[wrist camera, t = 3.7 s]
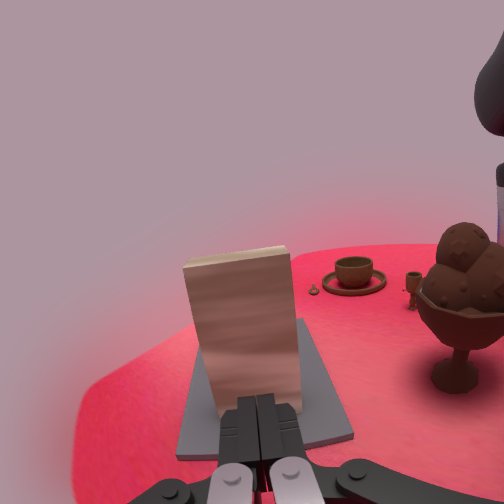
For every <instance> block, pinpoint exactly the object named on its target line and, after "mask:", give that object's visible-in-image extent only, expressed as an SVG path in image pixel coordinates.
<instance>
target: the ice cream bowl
mask: <svg viewBox="0 0 504 504" xmlns="http://www.w3.org/2000/svg"><path fill="white" fill-rule="evenodd" d="M436 262H437V263H436V264H435V265H434V266H433V267H432V268H430V270H429V272H428V274H427V276H426V277H424V278H422V279H421V281H420V283H419V285H418V286H417V288H416V290H415V297H416V305H417V309H418V312H419V314H420V317H421V319H422V321H423V322H424V323H425V324H426V325H427V326H428V327H429V329H430V330H431V331H432V332H433V333H434V334H435V335H436V337H437V338H438V339H439V340H440V341H441V343H443V344H445V345H447V346H450V347H453V348H454V353H453V357H452V358H451V359H445V360H443V361H441V362H440V363H438V364H436V365H435V367H434V369H433V372H432V375H431V379H432V381H433V383H434V384H435V386H436V387H437V388H438V389H440V390H443V391H445V392H448V393H450V394H456V393H467V392H468V391H470V390H471V389H472V388H474V387H475V386H476V385H477V382H478V369H477V368H476V367H475V366H474V364H473V363H472V362H470V361H467V359H468V355H469V351H470V350H478V349H483V348H486V347H488V346H490V345H491V344H493V343H494V342H496V341H497V340H499V339H500V338H501V337H502V336H504V247H503V246H501V245H500V244H498V243H495V242H490V240H489V238H488V236H487V234H486V233H485V232H484V230H483V229H482V228H480V227H479V226H477V225H475V224H473V223H467V222H462V223H458V224H456V225H453V226H451V227H450V228H448V229H447V230H446V231H445V232H444V234H443V235H442V237H441V239H440V242H439V244H438V246H437V252H436Z"/></svg>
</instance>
